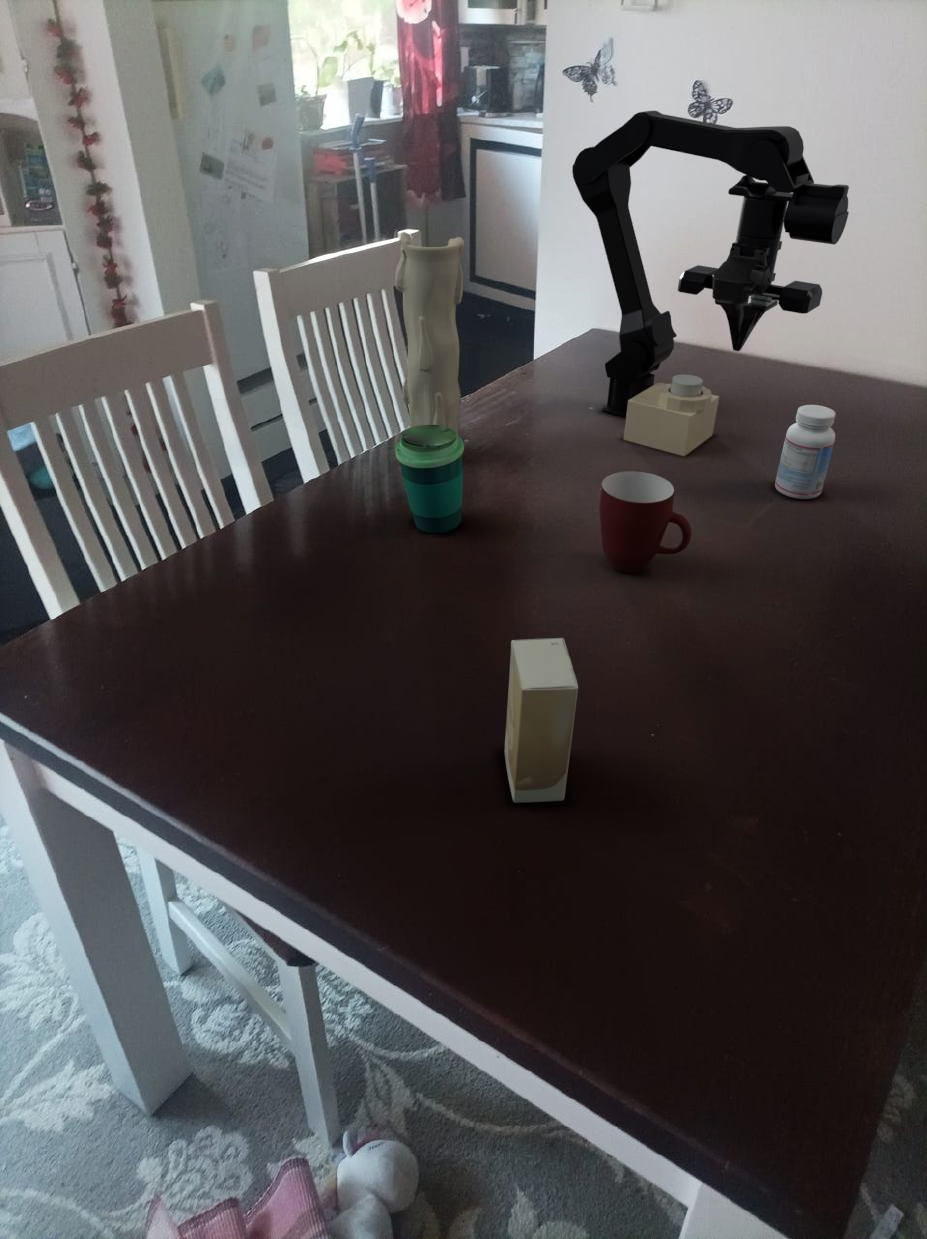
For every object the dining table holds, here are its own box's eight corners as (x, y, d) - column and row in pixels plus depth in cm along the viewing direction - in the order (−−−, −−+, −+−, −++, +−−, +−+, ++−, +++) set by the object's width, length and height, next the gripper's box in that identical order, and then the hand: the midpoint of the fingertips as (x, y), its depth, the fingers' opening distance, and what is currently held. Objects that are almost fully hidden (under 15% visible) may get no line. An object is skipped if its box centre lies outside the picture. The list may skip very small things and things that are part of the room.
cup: (475, 532, 107) (477, 440, 100) (416, 547, 104) (414, 454, 97) (444, 505, 113) (444, 417, 106) (387, 519, 109) (383, 429, 103)
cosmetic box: (503, 751, 75) (508, 636, 68) (552, 749, 75) (563, 634, 68) (512, 807, 70) (520, 688, 63) (566, 804, 70) (579, 685, 63)
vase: (394, 461, 124) (385, 235, 107) (419, 439, 130) (414, 223, 113) (449, 471, 121) (449, 241, 104) (472, 448, 128) (475, 228, 111)
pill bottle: (804, 479, 120) (824, 400, 114) (829, 498, 116) (852, 417, 109) (765, 483, 119) (783, 404, 113) (789, 503, 114) (809, 421, 108)
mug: (685, 555, 103) (699, 477, 97) (682, 590, 96) (697, 510, 91) (596, 543, 105) (604, 467, 99) (587, 577, 98) (596, 498, 93)
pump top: (664, 394, 126) (666, 380, 124) (677, 386, 129) (680, 372, 127) (692, 401, 124) (695, 386, 122) (705, 393, 126) (708, 378, 125)
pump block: (623, 439, 131) (629, 388, 127) (653, 420, 138) (660, 370, 133) (688, 457, 126) (697, 404, 121) (716, 436, 133) (726, 385, 128)
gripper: (668, 234, 116) (653, 351, 125) (807, 254, 107) (779, 378, 116) (703, 222, 123) (686, 333, 132) (836, 240, 114) (808, 358, 123)
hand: (736, 350), depth 126 cm, fingers closed
